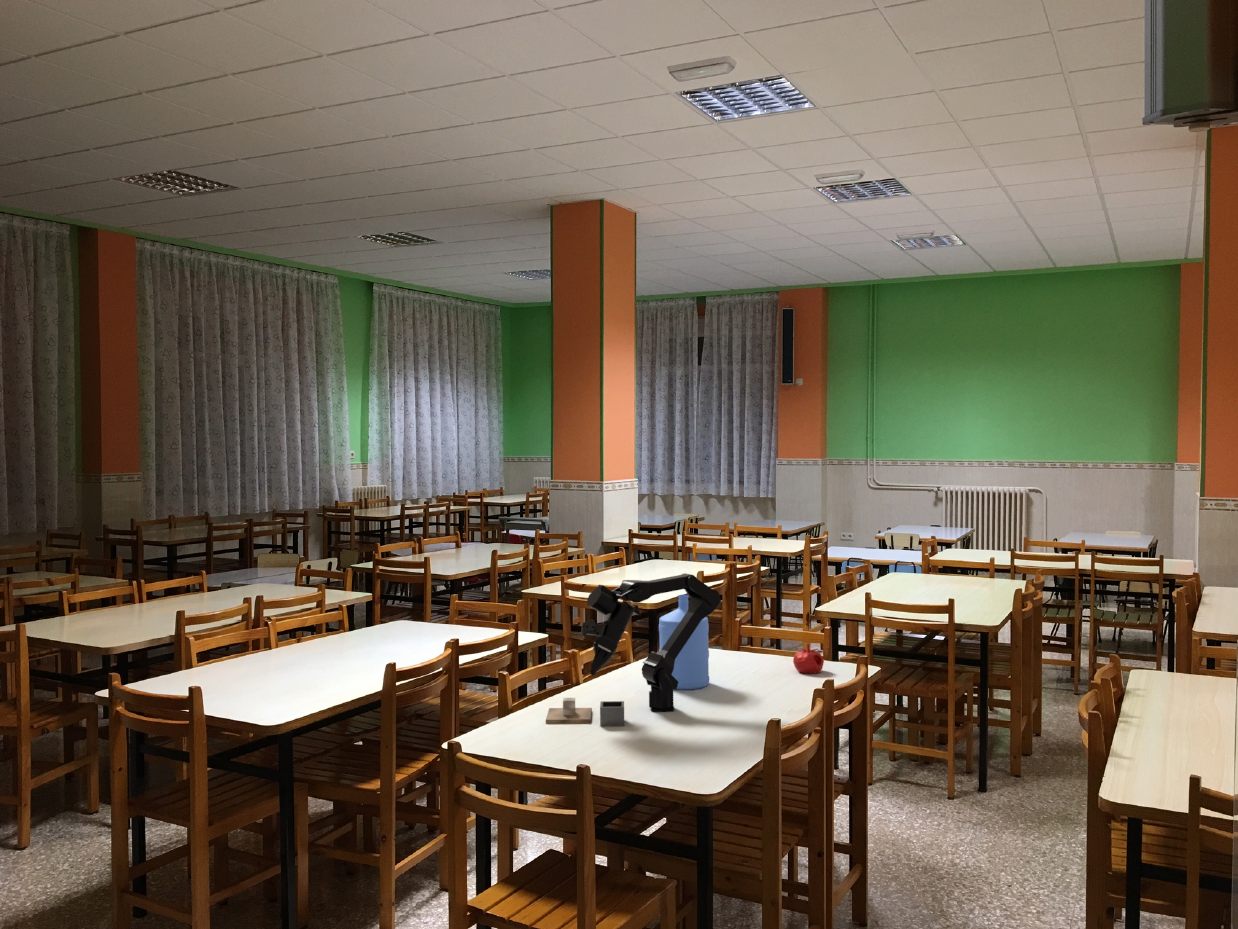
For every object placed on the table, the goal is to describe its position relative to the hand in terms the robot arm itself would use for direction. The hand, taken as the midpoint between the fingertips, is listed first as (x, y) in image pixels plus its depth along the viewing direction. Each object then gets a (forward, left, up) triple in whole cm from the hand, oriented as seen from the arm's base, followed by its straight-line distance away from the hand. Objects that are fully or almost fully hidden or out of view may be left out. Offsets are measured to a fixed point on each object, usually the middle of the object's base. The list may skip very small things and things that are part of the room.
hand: (591, 674), depth 266 cm
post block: (+6, -3, -13) cm, 14 cm away
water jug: (-28, -40, -13) cm, 50 cm away
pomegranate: (-70, -56, -13) cm, 90 cm away
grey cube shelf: (-6, +3, -13) cm, 14 cm away
